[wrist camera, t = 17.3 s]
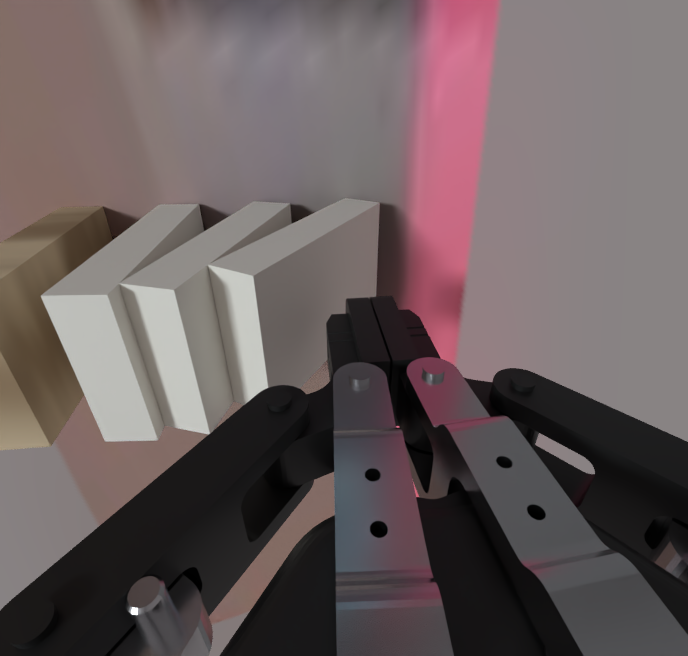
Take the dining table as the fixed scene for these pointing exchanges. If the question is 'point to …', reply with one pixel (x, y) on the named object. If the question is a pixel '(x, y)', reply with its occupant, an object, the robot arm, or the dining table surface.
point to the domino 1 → (40, 324)
